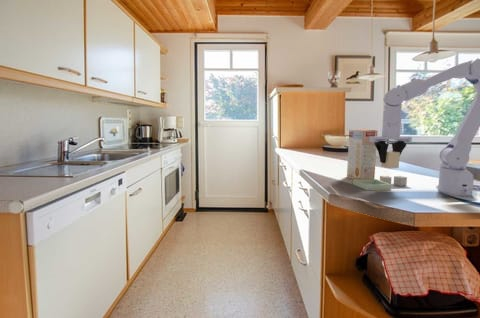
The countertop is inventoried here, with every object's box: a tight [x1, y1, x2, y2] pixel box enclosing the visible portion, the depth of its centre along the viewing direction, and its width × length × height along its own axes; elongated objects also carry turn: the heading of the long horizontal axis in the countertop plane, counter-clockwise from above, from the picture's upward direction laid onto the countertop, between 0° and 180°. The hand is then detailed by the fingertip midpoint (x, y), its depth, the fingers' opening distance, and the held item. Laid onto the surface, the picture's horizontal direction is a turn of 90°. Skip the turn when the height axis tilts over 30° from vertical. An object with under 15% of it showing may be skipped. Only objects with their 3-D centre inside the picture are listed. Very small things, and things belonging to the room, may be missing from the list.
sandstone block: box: [381, 150, 401, 169], centre depth 110 cm, size 4×4×6 cm
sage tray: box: [352, 178, 392, 191], centre depth 113 cm, size 10×9×2 cm
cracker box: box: [346, 128, 378, 181], centre depth 124 cm, size 14×6×21 cm, turn 1°
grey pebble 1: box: [379, 175, 392, 184], centre depth 116 cm, size 3×3×3 cm
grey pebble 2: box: [393, 175, 408, 186], centre depth 116 cm, size 3×3×3 cm
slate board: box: [391, 183, 411, 190], centre depth 114 cm, size 8×8×1 cm
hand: (388, 162), depth 111 cm, fingers closed on sandstone block, 4 cm apart
